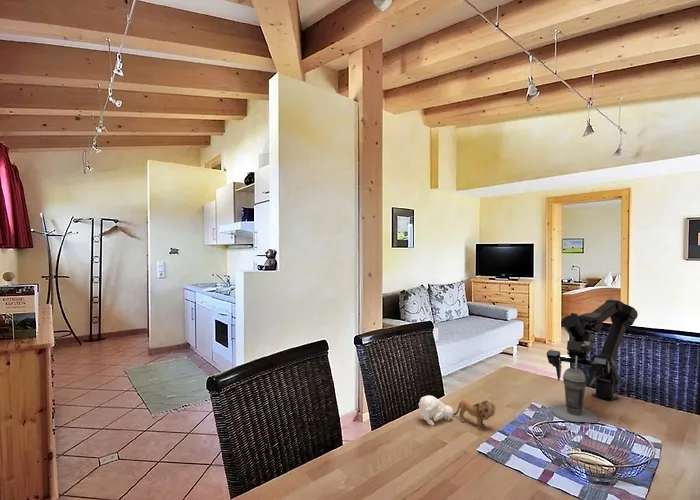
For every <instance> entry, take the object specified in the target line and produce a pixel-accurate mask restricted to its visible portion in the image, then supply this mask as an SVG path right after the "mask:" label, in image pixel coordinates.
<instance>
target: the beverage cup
mask: <svg viewBox="0 0 700 500" xmlns="http://www.w3.org/2000/svg"><path fill="white" fill-rule="evenodd" d="M577 357H578V356H576V361H575V363H574V364H575V365H574V366H573V367H569V368H567V369H565V370H564V372H563V377H562V379H563V381H562V382H563V384H564V393H565V394H564V395H565V405H566V407H567V412H568V413H569V414H571V415H575V416H581V415H582V411H583V408H584V402H585V392H586V388H587V384H588V380H587V376H586V374H585V372H584V371H583V370H582V369H580V368H578V364H577Z"/></svg>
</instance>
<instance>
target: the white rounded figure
mask: <svg viewBox="0 0 700 500" xmlns="http://www.w3.org/2000/svg"><path fill="white" fill-rule="evenodd" d="M418 407H419V409H418V410H419V414H420V417H421V418H422V419H423V421H426V422H427V424H428V425H430V426H432V427H434V426H435V423H434V422H437V421H440V419H442V418H444V420H445V421H446V420H447V421H450V420H451V419H452V417H453V416H454V415H453V414H454V409H453V408H452V407H451V406H450V405H448V404H447V405H446V404H444V403H443V402H442V401H441V400H440V399H438V398H437V397H435V396H433V395H425V396H422V397H421V398H420V399H419V402H418ZM430 416H433V420H432V419H430Z"/></svg>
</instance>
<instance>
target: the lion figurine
mask: <svg viewBox="0 0 700 500" xmlns="http://www.w3.org/2000/svg"><path fill="white" fill-rule="evenodd" d="M496 408H497V407H496V406H495V403H494V402H493V401H492V400H490V399H485V400H484V401H481V402H477V403H475V404H474V403H471V402H470V401H469V400H467V399H462V400H460V402H459V403H458V406H457V410H456V412H453V416H454V417H455V416H456V415H457V414H458V413H459V417H460V421H461V423H462V424H463V423H466V419H464V415H465V412H467V413H468V414H469V416H470V415H471V416H472V417H475V418H476V422H477V423H476V424H477V429H478V430H483V427H485V423H484V421H487V420H488V419H489V418H491V417H493V416H494V415H495V414H496Z"/></svg>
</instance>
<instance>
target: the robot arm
mask: <svg viewBox="0 0 700 500" xmlns="http://www.w3.org/2000/svg"><path fill="white" fill-rule="evenodd" d="M638 316H639V315H638V311H637V309H635V308H634V307H633V306H631V305H628V304H625V303H624V302H622V301H621V300H616V299H606V300H605V302H604V303H603V304H601V305H600V306H598V308H596V309H594V310H593V311H591V312H586V313H582V314H580V315H579V314H578V313H575V312H574V313H573V312H571V313H570V314H569V315H567V316H566V315H565V316H564V317H563V318H562V319H561V325H562V327H563V328H564V330H565V331H566V332H567V333H566V334H568V335H569V336H570V337H571V340H567V343H566V344H567V345H566V350H567V351H566V354H567V355H562V354H561V350H560V351H558V350H553V349H548V351H547V352H546V358H547V361H548V363H549V364H550V365H552V366H553V367H555V371H556V376H557V381H560V379H561V374H562V362H565V363H570V364H575V361H576V356H578V357H577V365H581V366H586V367H587V368H588V375H589V378H588V382H587V385H588V387H589V388H590V387H591V386H592V385H593V384H594V383H595V392H594V393H592V394H591V396H593V397H596V398H598V399H601V400H605V401H608V402H611V401H613V400H616V399H618V396H617V395H614V386H619V385H620V383H621V376H620V375H619V373H618V372H617V365H616V362H615V359H616V357H617V354H618V351H619V349H620V346H621V343H622V341H623V338H624V335H625V332H626V330H627V329H628V328H630V327H631V326H633V325H634V323H635V321H636V320H637V319H638ZM608 319H610V321H611V325H610V327H609V330H608V333H607V334H606V335H607V336H606V338H605V340H604V343H603V346H602V348H601V351H600V352H599V353H598V355H596V354H593V355H592V357H591V360H589V359H588V357H589V352H590V353H591V352H592V351H591V349H592V342H593V338H592V335H591V333H595V334H596V333H599V332H600V331H601V330H602V329H603V327H604V326H603V323H604V322H605V321H607V320H608Z"/></svg>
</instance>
